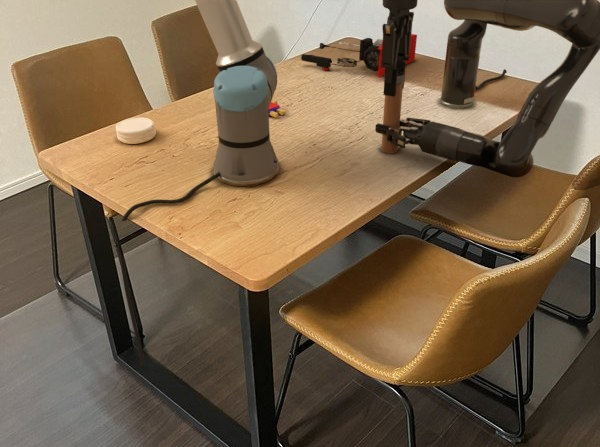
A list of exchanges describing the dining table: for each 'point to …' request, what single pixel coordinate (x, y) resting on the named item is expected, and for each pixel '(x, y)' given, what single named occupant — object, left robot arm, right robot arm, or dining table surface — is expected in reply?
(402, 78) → the lid
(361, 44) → the electric hoist
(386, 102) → the brown capped cylinder
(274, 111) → the toy figure
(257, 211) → the dining table surface
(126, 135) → the coaster
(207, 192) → the dining table surface
